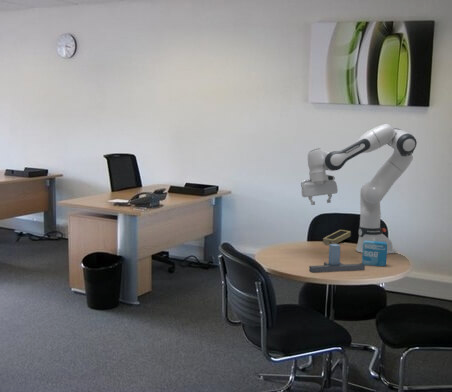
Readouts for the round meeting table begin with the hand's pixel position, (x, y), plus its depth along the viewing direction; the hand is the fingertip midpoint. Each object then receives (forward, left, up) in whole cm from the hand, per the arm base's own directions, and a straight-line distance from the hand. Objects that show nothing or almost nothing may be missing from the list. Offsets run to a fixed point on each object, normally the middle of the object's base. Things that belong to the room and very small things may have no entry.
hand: (321, 203), depth 291 cm
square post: (+4, +29, -28) cm, 41 cm away
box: (-23, -28, -29) cm, 46 cm away
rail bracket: (+4, +31, -28) cm, 42 cm away
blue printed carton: (-20, +25, -29) cm, 43 cm away
